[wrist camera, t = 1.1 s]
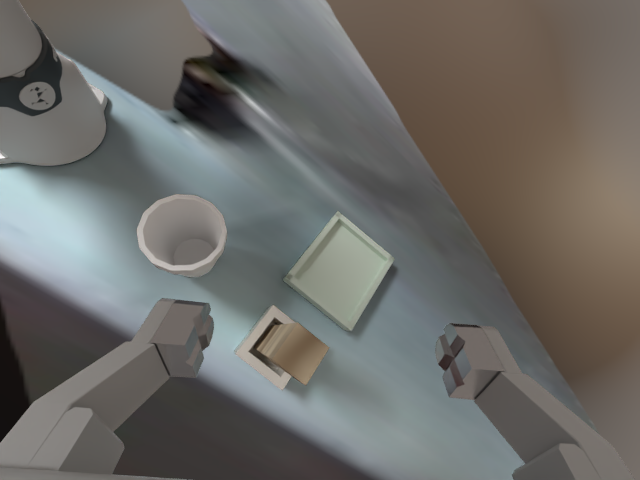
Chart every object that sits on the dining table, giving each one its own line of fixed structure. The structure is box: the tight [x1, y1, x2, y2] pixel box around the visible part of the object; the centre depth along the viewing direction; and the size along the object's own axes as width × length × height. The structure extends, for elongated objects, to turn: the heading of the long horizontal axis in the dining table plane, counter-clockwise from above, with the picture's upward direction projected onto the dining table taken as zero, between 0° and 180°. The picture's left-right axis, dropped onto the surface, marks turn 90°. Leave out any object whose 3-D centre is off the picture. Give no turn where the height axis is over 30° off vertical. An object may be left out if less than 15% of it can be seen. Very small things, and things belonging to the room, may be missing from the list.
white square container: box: [234, 305, 295, 390], centre depth 41 cm, size 8×8×6 cm
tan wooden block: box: [254, 323, 329, 386], centre depth 35 cm, size 4×4×18 cm
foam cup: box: [136, 194, 227, 277], centre depth 38 cm, size 10×9×13 cm
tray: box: [283, 212, 394, 331], centre depth 50 cm, size 14×16×2 cm
